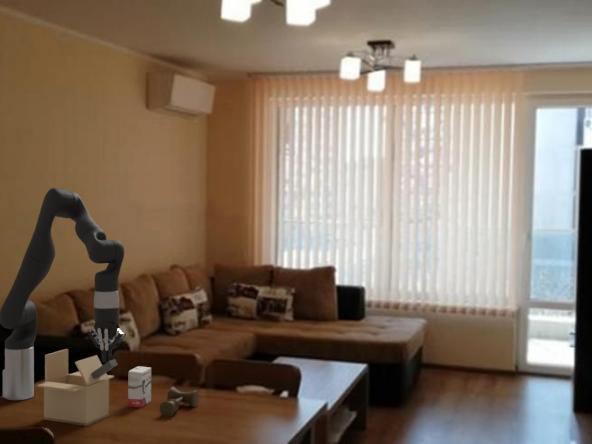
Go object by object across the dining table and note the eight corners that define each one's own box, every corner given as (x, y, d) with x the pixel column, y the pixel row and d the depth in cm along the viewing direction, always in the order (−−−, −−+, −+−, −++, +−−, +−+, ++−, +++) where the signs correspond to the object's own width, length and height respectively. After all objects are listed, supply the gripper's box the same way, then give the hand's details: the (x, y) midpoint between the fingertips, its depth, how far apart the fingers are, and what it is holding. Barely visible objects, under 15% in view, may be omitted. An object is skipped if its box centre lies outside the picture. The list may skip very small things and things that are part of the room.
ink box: (141, 408, 239) (141, 372, 238) (127, 407, 240) (127, 371, 239) (151, 401, 247) (151, 366, 247) (138, 400, 248) (138, 365, 248)
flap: (74, 362, 221) (94, 348, 218) (95, 355, 230) (114, 342, 227) (86, 385, 219) (106, 372, 216) (107, 378, 229) (126, 365, 226)
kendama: (151, 417, 231) (177, 399, 250) (180, 421, 228) (203, 402, 248) (152, 399, 230) (177, 381, 250) (180, 402, 228) (204, 384, 247)
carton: (34, 423, 221) (34, 357, 221) (75, 406, 239) (75, 346, 238) (77, 430, 215) (77, 362, 215) (116, 412, 233) (116, 350, 232)
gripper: (80, 305, 221) (81, 362, 221) (117, 308, 216) (117, 366, 216) (96, 302, 228) (96, 357, 228) (132, 305, 223) (132, 361, 223)
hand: (106, 362), depth 222 cm, fingers closed
